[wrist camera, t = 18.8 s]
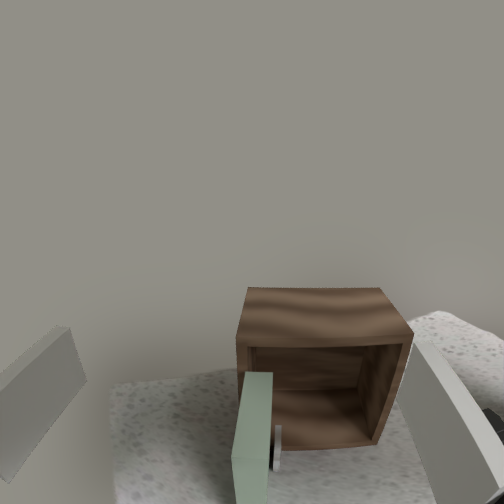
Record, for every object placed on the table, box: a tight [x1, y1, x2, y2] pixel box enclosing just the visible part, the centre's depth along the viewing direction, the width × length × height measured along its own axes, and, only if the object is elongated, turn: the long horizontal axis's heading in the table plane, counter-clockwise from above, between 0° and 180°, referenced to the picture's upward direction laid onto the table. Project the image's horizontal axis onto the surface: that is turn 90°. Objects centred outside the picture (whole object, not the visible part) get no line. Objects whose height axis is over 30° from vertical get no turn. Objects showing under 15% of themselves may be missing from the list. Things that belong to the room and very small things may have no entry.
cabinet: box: [236, 287, 414, 472], centre depth 38 cm, size 18×20×20 cm
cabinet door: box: [231, 372, 273, 504], centre depth 28 cm, size 12×3×16 cm, turn 175°
